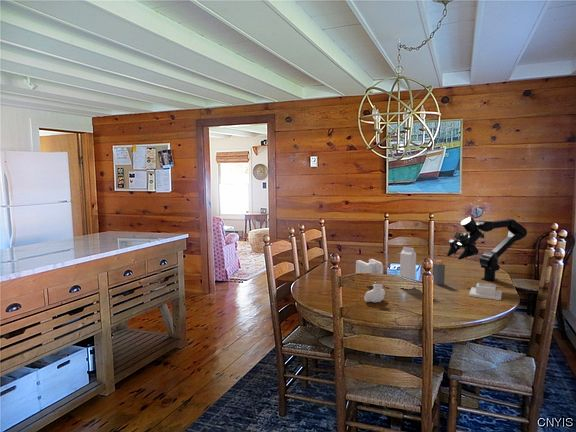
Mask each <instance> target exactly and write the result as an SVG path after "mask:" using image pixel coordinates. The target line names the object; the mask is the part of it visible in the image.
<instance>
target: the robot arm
mask: <svg viewBox="0 0 576 432" xmlns="http://www.w3.org/2000/svg"><path fill="white" fill-rule="evenodd" d="M460 225H461V226H462V228H463V229H464V230H465V232H463V233H462V232H458V231H456V232H455V234H454V236H453V238H454V239H449V240H448V244H449V248H448V249H449V250H448V252H447V254H446V256H447V257H450V256H452V255H453V254H455V253H457V252H458V250H460V249H461V248H462V249H463V251H462V253H461V254H460V255H459V257H458V260H459V261H460V260H463V259H466V258H469V257H472V256H477V255H478V254H479V249H478V248H477V246H476V244H477V242H478V240H479V239H485V233H488V232H491V231H493V230H495V229H500V228H507V230H508V233H507V236H506V237H505V238H504V239H503V240H502V241H501V242H500V243H499V244H497V246H495V247H494V248H493V249H492V250H491V251H484V252H483V253H482V254H481V255H480V257H479V264H480V267H481V268H483V270H484V271H483V272H484V273H483V274H484V275H483V277H482V278H481V280H482V281H483V280H484V281H488V282H495V281H497V280H499V278H496V272H497V271H500V268H501V266H500V265H499V264H498V262H499V258H500V257H501V256H502V255H503V254H504V253H505V252H506V251H507V250H508V249H510V247H511V246H512V245H514V244H515V242H518V241H520V240H523V239H524V238H525V237H526V236H528V235H527V234H528V231H527V228H526V227H524V226H523V225H522V224H521V223H518V222H517V220H515V219H512V218H505V219H500V220H492V221H491V220H490V221H489V220H477V221H475V220H474V218H473V217H472V216H469V217H466V218H464V219H463V220H461V221H460ZM466 232H467V233H466Z"/></svg>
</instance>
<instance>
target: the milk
mask: <svg viewBox="0 0 576 432" xmlns="http://www.w3.org/2000/svg"><path fill="white" fill-rule="evenodd" d="M399 260H400V261H399V277H400V276H404V277H407V278H410V279H414V280H415V281H416V271H417V269H416V267H417V265H416V264H417V252H416V251H415V250H414V247H411V246H410V247H409V246H403V247H402V250H401V251H400V255H399Z"/></svg>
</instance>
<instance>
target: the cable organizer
mask: <svg viewBox="0 0 576 432" xmlns="http://www.w3.org/2000/svg"><path fill="white" fill-rule="evenodd" d="M356 273H371V274H383V275H384V265H383V262H381V261H379V260H376V259H374V258H369V259H368V262H365V261H364V260H361V259H358V260H355V274H356Z"/></svg>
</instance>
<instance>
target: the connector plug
mask: <svg viewBox="0 0 576 432" xmlns="http://www.w3.org/2000/svg"><path fill="white" fill-rule="evenodd" d="M434 262H435V263H432V277H433V276H434V284H433V285H436V286H442V285H443V286H444V285H445V275H446V273H445V272H446V271H445V270H446V269H445V268H446V264H444V261H443V260H441V259H436V260H434Z"/></svg>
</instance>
